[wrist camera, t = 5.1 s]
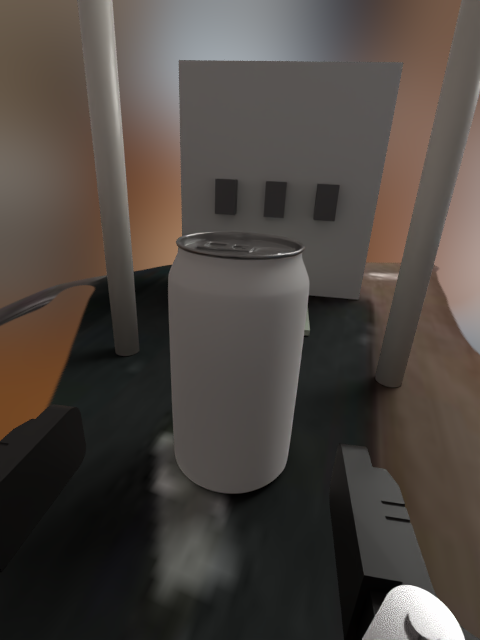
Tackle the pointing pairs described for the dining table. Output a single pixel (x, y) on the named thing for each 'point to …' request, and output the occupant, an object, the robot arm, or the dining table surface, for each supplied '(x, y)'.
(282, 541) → the dining table surface
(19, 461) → the robot arm
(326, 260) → the breaker panel
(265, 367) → the can
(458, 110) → the cord posts
